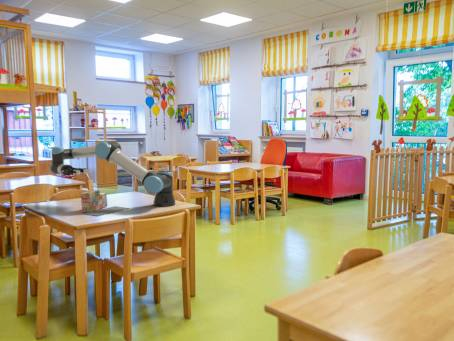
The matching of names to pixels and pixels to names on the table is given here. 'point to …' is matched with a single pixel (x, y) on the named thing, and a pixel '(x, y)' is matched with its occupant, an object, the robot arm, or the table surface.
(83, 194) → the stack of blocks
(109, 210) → the mat
